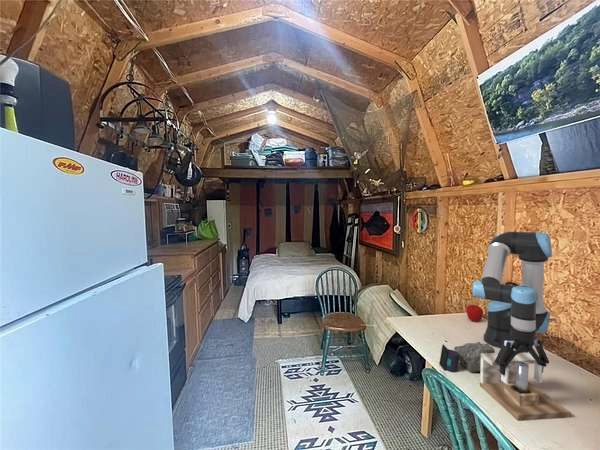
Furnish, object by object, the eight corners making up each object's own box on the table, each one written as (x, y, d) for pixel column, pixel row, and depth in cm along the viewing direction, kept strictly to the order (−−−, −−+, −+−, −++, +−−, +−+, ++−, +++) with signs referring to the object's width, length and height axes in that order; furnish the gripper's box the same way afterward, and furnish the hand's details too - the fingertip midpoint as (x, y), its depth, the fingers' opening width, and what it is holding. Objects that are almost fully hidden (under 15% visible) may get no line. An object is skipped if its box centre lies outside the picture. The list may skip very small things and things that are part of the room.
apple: (469, 323, 187) (469, 307, 186) (463, 317, 196) (463, 302, 195) (485, 324, 185) (486, 307, 184) (479, 318, 194) (479, 302, 194)
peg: (529, 402, 109) (531, 367, 108) (520, 402, 109) (521, 367, 108) (521, 395, 113) (522, 361, 112) (511, 395, 113) (512, 361, 112)
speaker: (439, 370, 135) (442, 348, 134) (439, 364, 140) (441, 343, 139) (458, 374, 132) (460, 353, 131) (456, 368, 137) (459, 348, 136)
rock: (509, 372, 126) (498, 352, 140) (492, 348, 127) (482, 330, 141) (469, 386, 133) (462, 365, 147) (452, 363, 134) (447, 344, 148)
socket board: (524, 383, 124) (525, 351, 123) (570, 417, 104) (571, 378, 103) (479, 385, 123) (480, 353, 122) (517, 420, 103) (518, 381, 102)
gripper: (544, 322, 113) (542, 374, 115) (484, 325, 112) (483, 377, 114) (562, 330, 106) (560, 385, 107) (498, 333, 105) (497, 389, 106)
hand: (521, 381), depth 110 cm, fingers open, 13 cm apart
